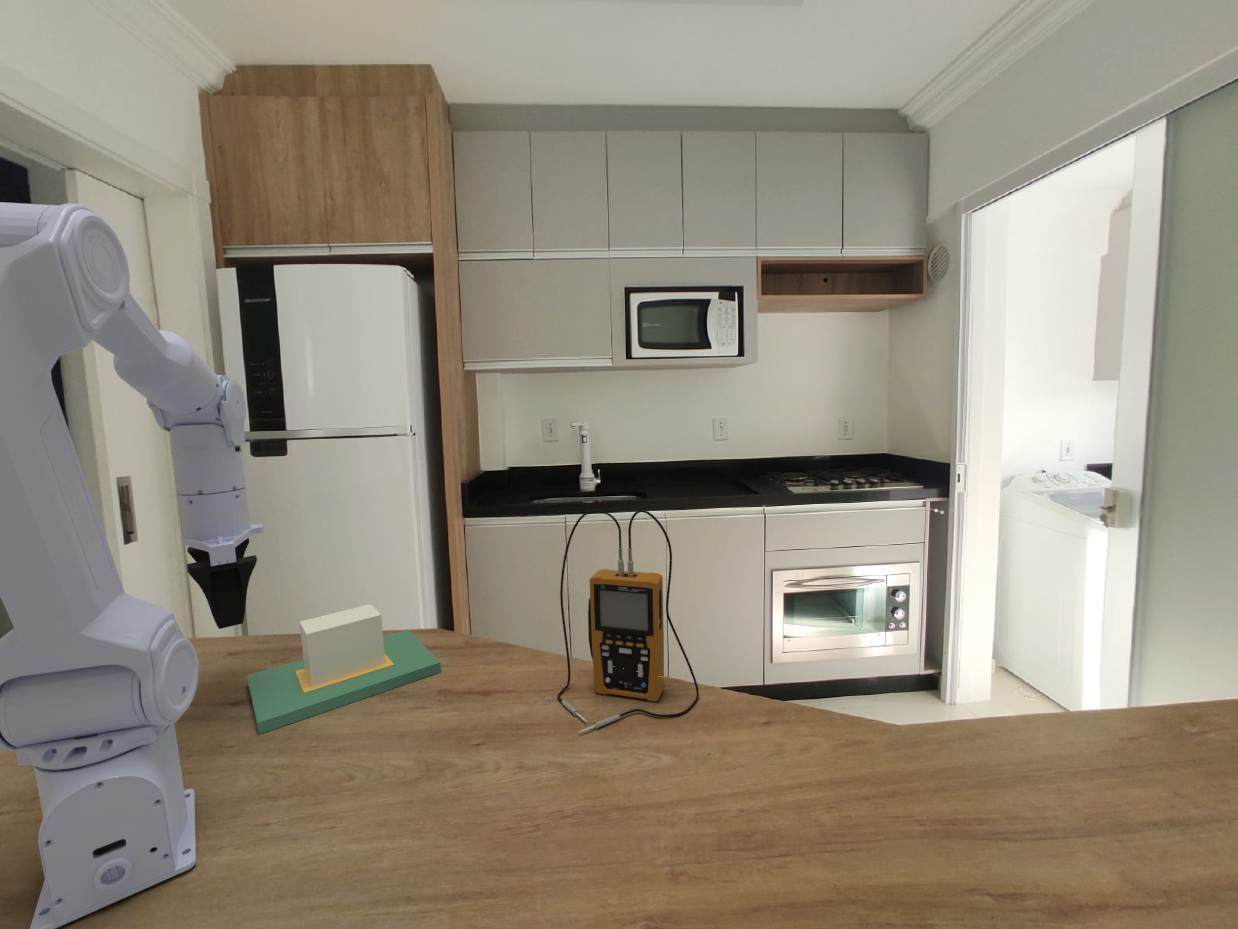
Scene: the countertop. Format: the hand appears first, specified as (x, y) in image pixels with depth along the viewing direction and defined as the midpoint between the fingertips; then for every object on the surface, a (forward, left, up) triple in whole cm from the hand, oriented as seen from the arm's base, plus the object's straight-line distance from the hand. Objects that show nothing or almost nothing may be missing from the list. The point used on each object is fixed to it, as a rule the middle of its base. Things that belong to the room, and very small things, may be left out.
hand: (228, 614), depth 59 cm
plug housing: (-4, -10, -8) cm, 14 cm away
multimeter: (-30, -30, -10) cm, 44 cm away
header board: (-4, -10, -9) cm, 14 cm away
